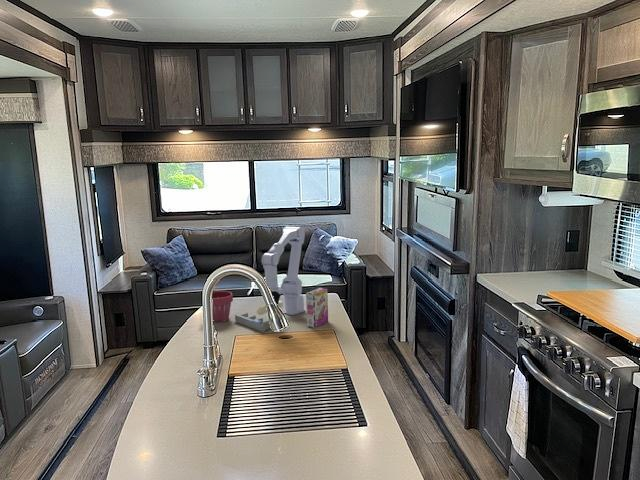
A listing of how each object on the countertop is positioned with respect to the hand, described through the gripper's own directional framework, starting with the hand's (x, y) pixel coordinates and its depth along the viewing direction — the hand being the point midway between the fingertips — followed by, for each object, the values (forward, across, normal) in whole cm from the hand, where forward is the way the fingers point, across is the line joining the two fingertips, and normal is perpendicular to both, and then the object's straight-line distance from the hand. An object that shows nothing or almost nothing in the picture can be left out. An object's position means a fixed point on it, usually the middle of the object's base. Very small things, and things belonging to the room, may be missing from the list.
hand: (272, 306), depth 225 cm
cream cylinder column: (+2, 0, -2) cm, 3 cm away
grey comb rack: (+9, -6, -8) cm, 13 cm away
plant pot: (+9, -27, -13) cm, 31 cm away
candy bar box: (+9, +17, +13) cm, 23 cm away
